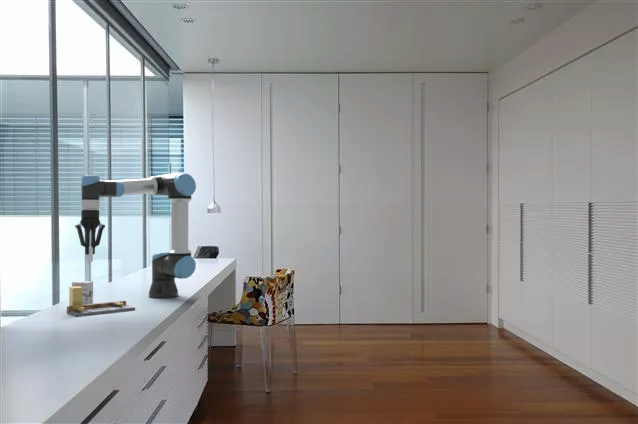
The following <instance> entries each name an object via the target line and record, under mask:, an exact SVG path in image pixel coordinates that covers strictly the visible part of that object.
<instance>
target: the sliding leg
mask: <svg viewBox="0 0 638 424" xmlns="http://www.w3.org/2000/svg"><path fill="white" fill-rule="evenodd" d="M68 288H69V289H68V290H69V293H68V294H69V295H68V296H69V297H68V298H69V301H68V303H69V304H68V306H72V311H78V310H79V311H82V310H85V308H83V307H82V287H79V286H78V287H72V286H69V287H68Z"/></svg>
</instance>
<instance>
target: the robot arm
mask: <svg viewBox="0 0 638 424" xmlns="http://www.w3.org/2000/svg"><path fill="white" fill-rule="evenodd" d="M100 177H101V176H99V175H95V174H86V175H85V174H84V175H82V177H81V184H80V186H81V211H80V212H81V220H80V221H79V223H78V224H75V225H74V228H75V229H76V231H77V234H78V239H79V242H80V246H82V247H84V248H85V249H84V252H85V253H84V254H85V255H86V258H87V261H86V262H88V263H93V260H94V255H95V254H96V247H98V246H99V245H100V243H101V238H102V234H103V231H104V229H105V227H106V225H105V224H102V223H101V220H100V210H99V209H100V198H121V197H123V196H130V195H143V194H144V195H146V194H149V195H151V196H166V197H167V196H168V197H167V199H168V201H169V202H170V204H171V207H170V208H171V209H170V211H171V212H170V213H171V215H170V216H171V218H170V219H171V220H170V221H171V222H170V223H171V225H170V227H171V228H170V231H171V236H170V237H171V238H170V239H171V241H170V243H171V244H170V250H169V251H168V252H159V253H154V254H153V255H152V256H151V259H152V260H151V284H150V286H149V290H148V297H149V298H154V299H165V298H166V299H169V298H175V297H178V296H179V290H178V286H177V284H176V279H180V280H181V279H188V278H190V277H191V276H192V275H193V274H194V273H195V271H196V269H197V268H196V267H197V264H196V263H197V262H196V260H195V259H194V257H192V251H191V250H190V249H189V203H190V201H191V200H192V195H193V194H194V193H195V192H196V189H197V184H196V183H197V182H196V181H195V179H194V177H193V176H192V175H191V174H189V173H183V172H178V173H176V172H175V173H166V174H161V175H155V176H150V177H148V178H139V179H135V178H134V179H120V180H119V179H117V180H103V179H100ZM82 228H83V229H84V233H83V229H82ZM97 228H98V230H96V229H97ZM96 231H97V233H96Z"/></svg>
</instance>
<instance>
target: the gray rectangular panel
mask: <svg viewBox="0 0 638 424" xmlns="http://www.w3.org/2000/svg"><path fill="white" fill-rule="evenodd" d="M129 310H131V311H135V310H136V307H135V306H133V305H132V306H131V305H129V304H126V305H125V306H122V307H119V306H116V307H106V308H97V309H88V310H82V311H79V310H78V311H70V313H69V314H70V315H72V316H74V317H85V316H93V315H102V314H111V313H112V312H113V313H119V311H122V312H130V311H129ZM113 313H112V314H113Z"/></svg>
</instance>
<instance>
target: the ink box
mask: <svg viewBox="0 0 638 424" xmlns="http://www.w3.org/2000/svg"><path fill="white" fill-rule="evenodd" d="M78 286H79V287H82V305H85V304H94V281H92V280H75V281H72V282H71V287H78Z"/></svg>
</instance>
